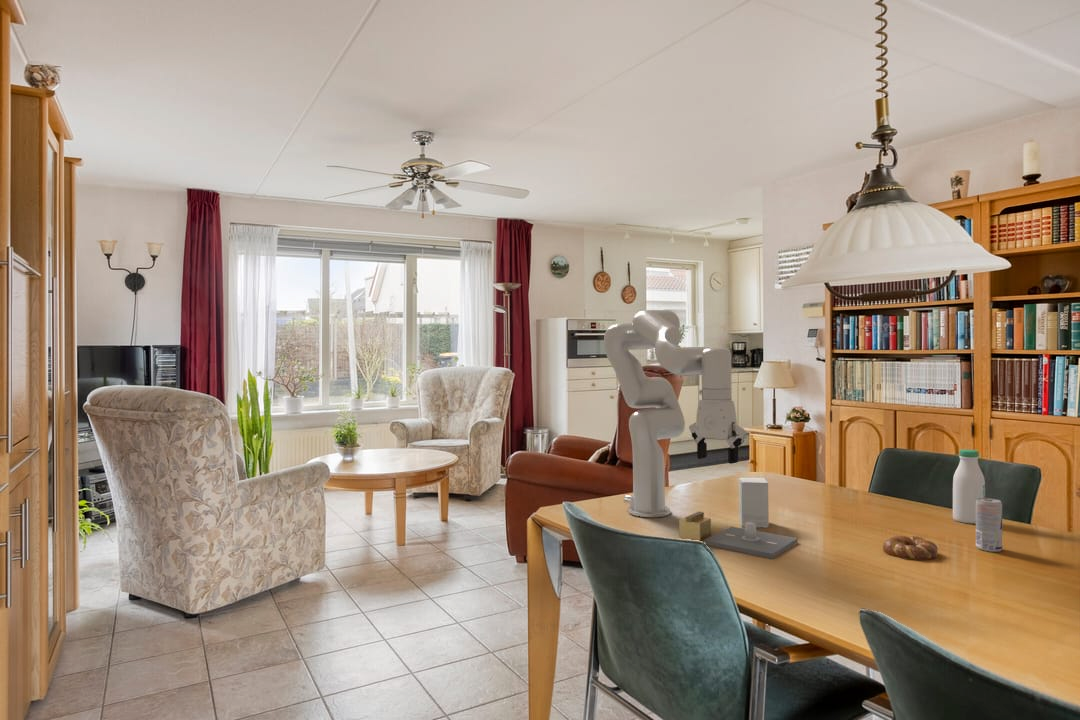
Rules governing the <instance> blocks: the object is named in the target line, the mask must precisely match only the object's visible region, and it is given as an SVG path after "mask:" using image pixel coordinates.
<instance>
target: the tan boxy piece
mask: <svg viewBox="0 0 1080 720" xmlns="http://www.w3.org/2000/svg"><path fill="white" fill-rule="evenodd" d="M704 513H705V512H704V511H697V512H694V513H692V514H690V515H687V516H685V517H682V518H680V519H678V526H679V527H678V531H679V532H678V534H679V535H678V537H679V538H681V539H691V540H699V541H703V543H704V540H705V539H707V538H709V537H711V536H712V519H711V518H708V517H705V514H704Z"/></svg>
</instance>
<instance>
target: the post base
mask: <svg viewBox="0 0 1080 720" xmlns="http://www.w3.org/2000/svg"><path fill="white" fill-rule="evenodd" d="M798 540H799V539H798V537H793V536H787V535H782V534H776V533H771V532H766V531H760V530H757V527H756V523H753V522H746V523H745V527H739V526H738V527H737V526H732V525H731V526H728V527H727V528H725V529H723V530H721V531H719V532H717V533H715V534H713V535H711V537H709V538H707V539H705V540H704V542H705V543H706V544H707V545H708V546H709V547H713V548H717V549H724V550H726V551H727V550H728V551H733V552H737V553H742V554H748V555H751V556H756V557H757V556H758V557H760V558H761V557H762V558H765V559H772V560H773V559H775V558H777V557H778V556H779V555H781V554H783V553H785V552H786V551H787V550H789V549H790V548H792V547H793V545H794V546H796V545H797V544H798ZM704 542H703V543H704ZM796 543H797V544H796ZM707 545H706V546H707Z"/></svg>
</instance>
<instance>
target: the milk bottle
mask: <svg viewBox="0 0 1080 720" xmlns="http://www.w3.org/2000/svg"><path fill="white" fill-rule="evenodd" d="M958 451H959V452H958V453H959V454H958V455H959V456H958V457H959V459H960V460H959V463H958V466H957V468H956V470H955V472H954V474H953V479H952V519H953V520H954V521H957V522H959V523H963V524H973V525H976V501H977V498H986V480H985V476H984V474H983V472H982V470H981V468H980V465H979V460H978V459H979V456H980V454H979V451H978V450H977V449H966V448H965V449H964V448H963V449H959V450H958Z"/></svg>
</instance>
